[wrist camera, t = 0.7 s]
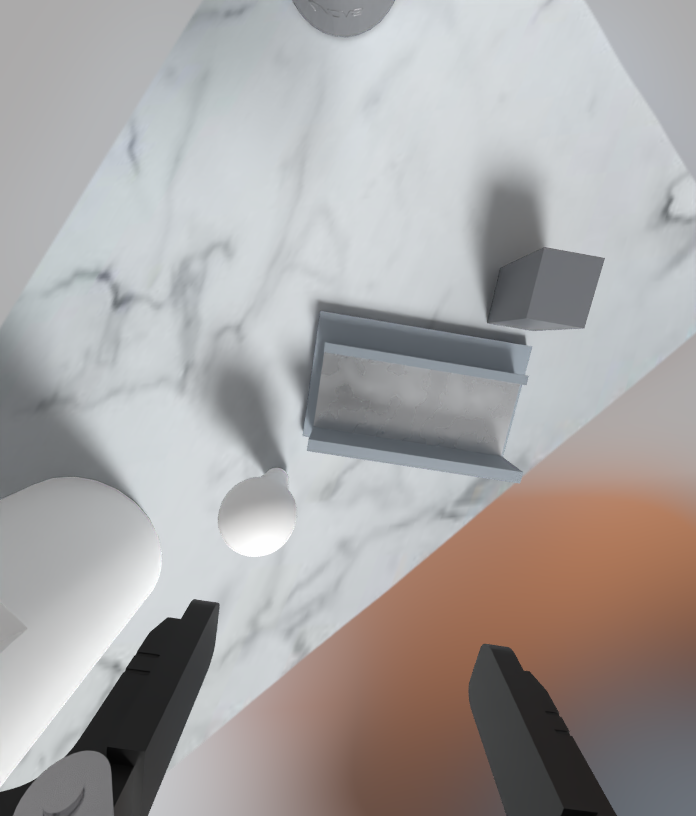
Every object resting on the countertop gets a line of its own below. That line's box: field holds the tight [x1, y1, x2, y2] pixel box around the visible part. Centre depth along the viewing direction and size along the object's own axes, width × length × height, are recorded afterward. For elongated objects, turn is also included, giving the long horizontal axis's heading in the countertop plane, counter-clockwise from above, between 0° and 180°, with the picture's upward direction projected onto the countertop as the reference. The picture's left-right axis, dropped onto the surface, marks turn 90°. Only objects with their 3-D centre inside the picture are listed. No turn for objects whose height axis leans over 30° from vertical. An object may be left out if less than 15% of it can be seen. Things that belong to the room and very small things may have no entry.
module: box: [487, 247, 605, 331], centre depth 28 cm, size 5×4×7 cm
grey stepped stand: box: [303, 311, 532, 483], centre depth 30 cm, size 12×20×6 cm, turn 81°
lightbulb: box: [218, 468, 297, 557], centre depth 29 cm, size 6×6×11 cm
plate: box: [313, 352, 520, 456], centre depth 31 cm, size 7×18×2 cm, turn 81°
